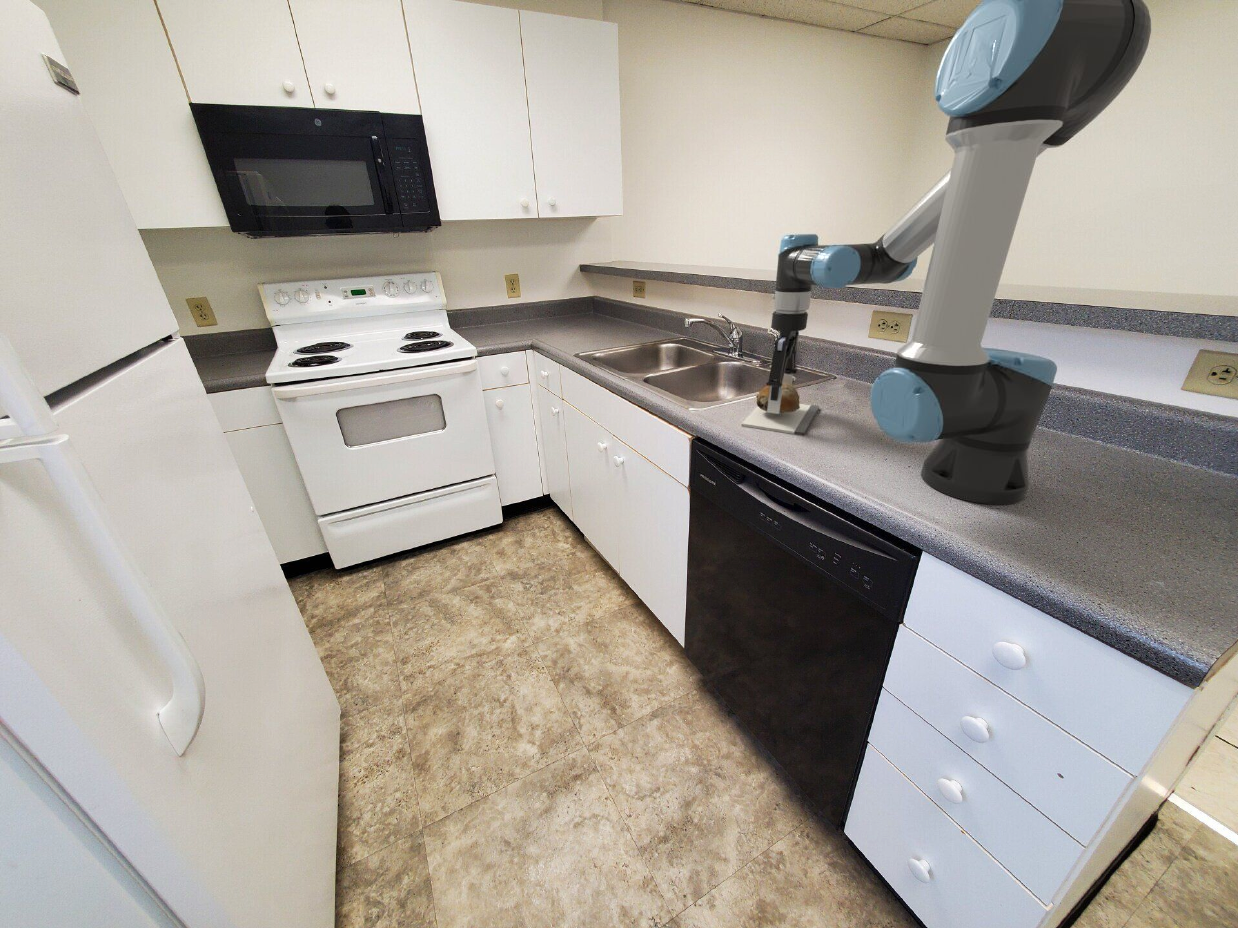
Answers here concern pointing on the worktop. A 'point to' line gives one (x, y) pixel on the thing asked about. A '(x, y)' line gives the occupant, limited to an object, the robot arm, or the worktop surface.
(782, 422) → the mat
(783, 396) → the bread roll
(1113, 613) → the worktop surface
